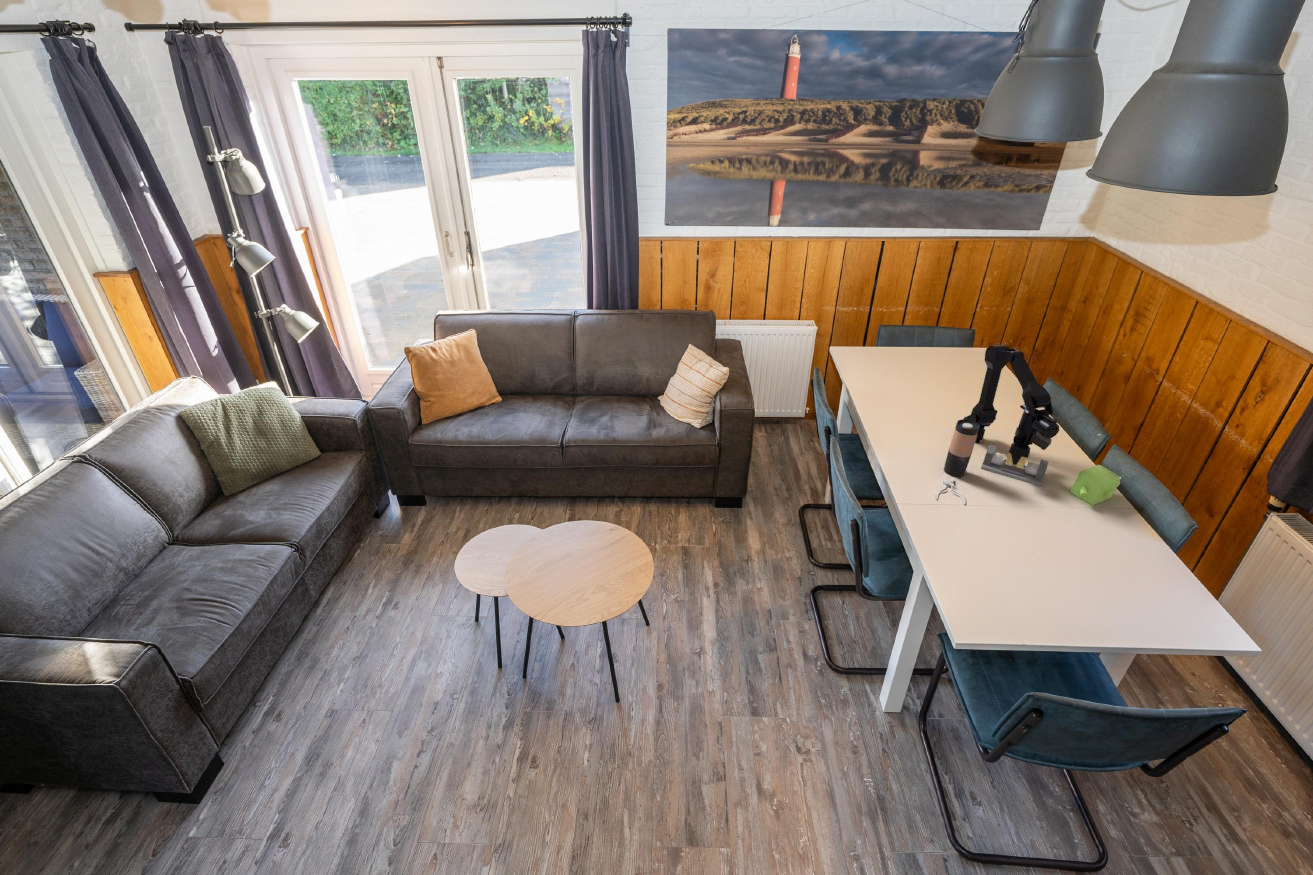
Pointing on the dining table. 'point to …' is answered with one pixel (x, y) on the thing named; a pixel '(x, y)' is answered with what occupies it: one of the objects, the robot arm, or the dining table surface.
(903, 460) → the dining table surface
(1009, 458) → the banded gold block
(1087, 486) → the green lump
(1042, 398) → the robot arm
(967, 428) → the travel mug
